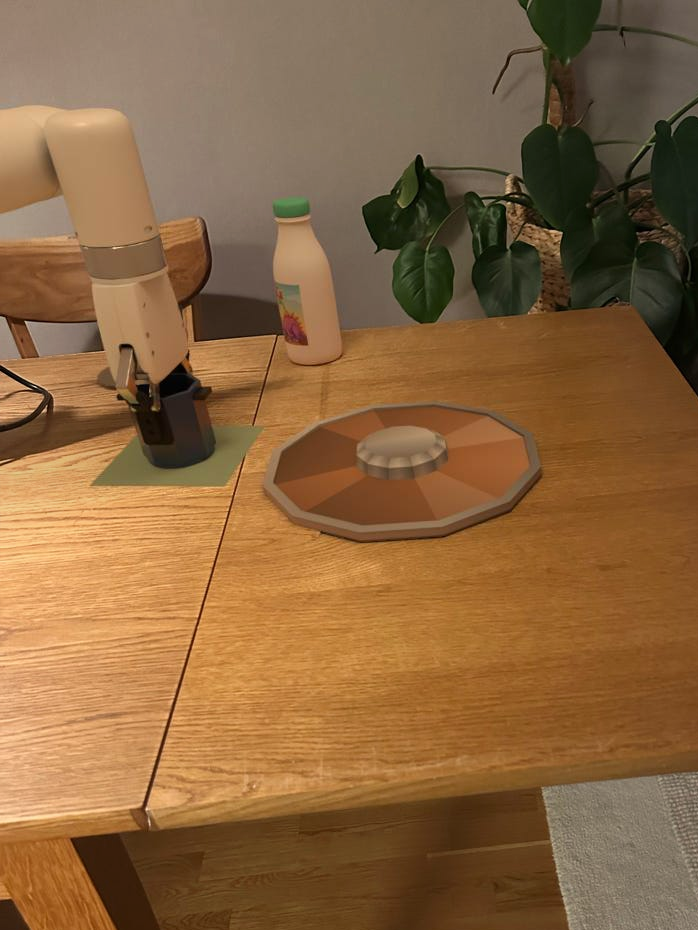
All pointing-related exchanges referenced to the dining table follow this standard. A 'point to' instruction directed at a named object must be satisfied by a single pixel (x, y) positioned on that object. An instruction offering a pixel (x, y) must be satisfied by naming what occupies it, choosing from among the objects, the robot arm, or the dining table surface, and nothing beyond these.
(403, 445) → the shield
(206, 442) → the pot
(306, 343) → the milk bottle
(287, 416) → the dining table surface
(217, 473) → the cloth
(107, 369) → the disc
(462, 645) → the dining table surface
